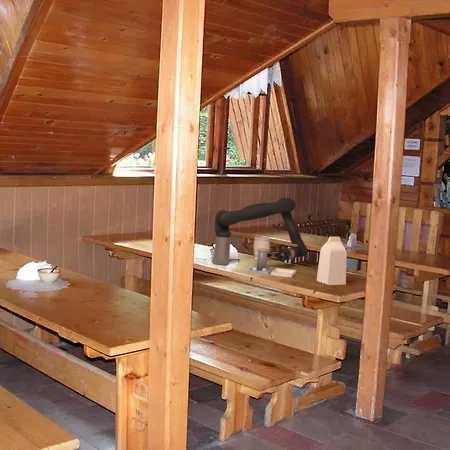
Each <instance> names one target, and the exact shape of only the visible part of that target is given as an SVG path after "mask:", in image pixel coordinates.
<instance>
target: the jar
mask: <svg viewBox="0 0 450 450" xmlns="http://www.w3.org/2000/svg"><path fill="white" fill-rule="evenodd" d="M253 238H254V242H253V255H254V259H253V260H255V261H257V257H258V249H268V251H267V253H268V252H270V250H271V249H270V248H271V242H270V240H271V237H270V236H269V237H268V236H262V235H261V236H260V235H257V236H253Z"/></svg>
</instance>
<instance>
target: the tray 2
mask: <svg viewBox="0 0 450 450" xmlns="http://www.w3.org/2000/svg"><path fill="white" fill-rule="evenodd" d="M296 274H297V270H296V269H291V268H289V269H287V268H279V267H278V268H277V267H276V268H274V270H273V271H272V272H271V273H270V276H276V277H285V278H286V277H287V278H292V277H293V276H294V275H296Z"/></svg>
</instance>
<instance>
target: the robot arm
mask: <svg viewBox="0 0 450 450" xmlns="http://www.w3.org/2000/svg"><path fill="white" fill-rule="evenodd" d="M296 205H297V204H296V201H295V200H294V199H292V198H290V197H281V198H279V200H278V201H275V202H274V201H273V202H261V203H255V204H250V205H247V206H245V207H243V208H241V209H238V210H232V211H229V210H225V209H221V210H219V211H217V213H216V215H215V219H214V220H215V221H214V232H215V244H214V248H213V261H212V264H213V265H218V266H229V265H230V256H231V255H230V254H231V253H230V251H231V236H232V235H231V234H232V232H231V230H230V226H232V225H236V224H238V223H241V222H248V221H254V220H258V219H263V218H267V217H270V216H273V215H278V214H280V215H281V217H282V220H283V222H284V224H285V227H286V229H287V230H286V231H287V233H288V236H289V240H290V243H291V244H293V245H296V246H293V247H285V248H281V249H279V250H278V251H276V252H275V251H269V252H268V253H267V259H268V258H273V259H277V260H278V261H281V262H284V261H285V262H286V261H289V260H292V259H296V258H302V257H306V256H308V254H309V253H308V251H309V250H308V247H307V245H306V244H305V242H304V240H303V239H302V236H301V232H300V229H299V227H298V226H297V224H296V221H295V220H294V218H293V216H292V212H293V211H294V210H295V209H296Z"/></svg>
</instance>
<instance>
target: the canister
mask: <svg viewBox="0 0 450 450" xmlns="http://www.w3.org/2000/svg"><path fill="white" fill-rule="evenodd" d="M267 251H268V249H258V257H257V260H256V262H257V263H256V266H257V271H262V269H263V268H266V267H267V261H268V258H267Z"/></svg>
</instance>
